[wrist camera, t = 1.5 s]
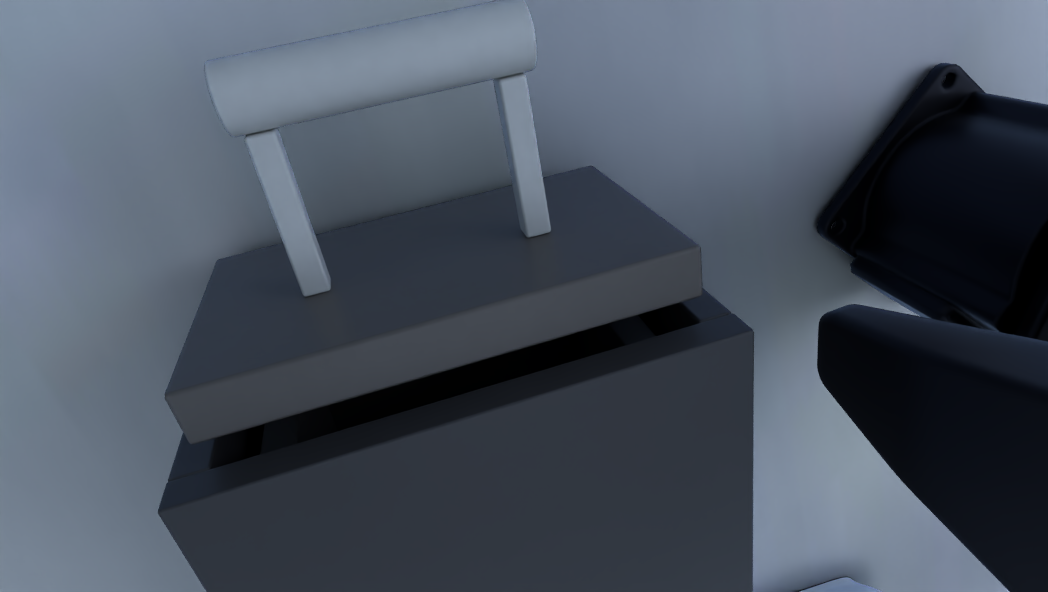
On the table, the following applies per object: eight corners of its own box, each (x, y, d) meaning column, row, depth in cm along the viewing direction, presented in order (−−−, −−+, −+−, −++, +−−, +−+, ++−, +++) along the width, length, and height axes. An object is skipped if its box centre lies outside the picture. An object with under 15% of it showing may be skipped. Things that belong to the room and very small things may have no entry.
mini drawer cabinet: (222, 305, 18) (155, 512, 11) (606, 205, 20) (755, 329, 13) (360, 610, 25) (372, 861, 18) (641, 514, 27) (752, 708, 20)
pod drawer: (129, 63, 15) (8, 118, 9) (569, -27, 16) (692, -25, 11) (355, 576, 23) (363, 765, 17) (630, 484, 24) (717, 632, 19)
